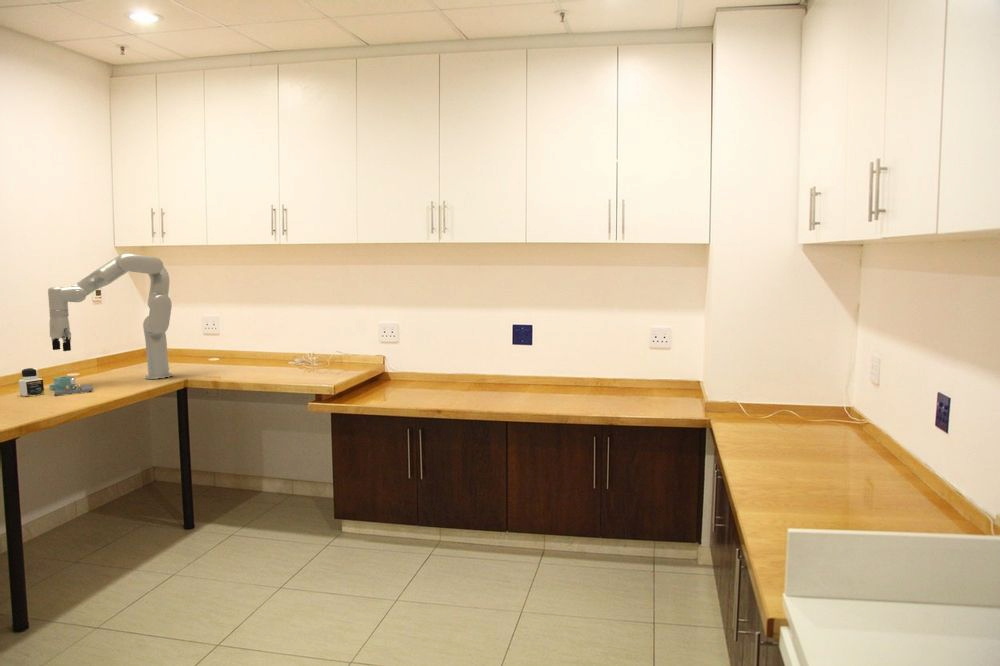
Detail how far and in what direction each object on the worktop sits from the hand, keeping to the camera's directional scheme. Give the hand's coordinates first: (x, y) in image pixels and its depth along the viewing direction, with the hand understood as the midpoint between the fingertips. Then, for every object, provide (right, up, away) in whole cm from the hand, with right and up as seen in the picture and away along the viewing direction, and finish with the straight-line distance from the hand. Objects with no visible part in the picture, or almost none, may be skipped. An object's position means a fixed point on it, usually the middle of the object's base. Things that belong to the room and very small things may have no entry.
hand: (61, 350), depth 340 cm
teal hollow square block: (-1, -18, +2) cm, 18 cm away
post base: (+10, -19, -7) cm, 22 cm away
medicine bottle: (-6, -20, -13) cm, 24 cm away
